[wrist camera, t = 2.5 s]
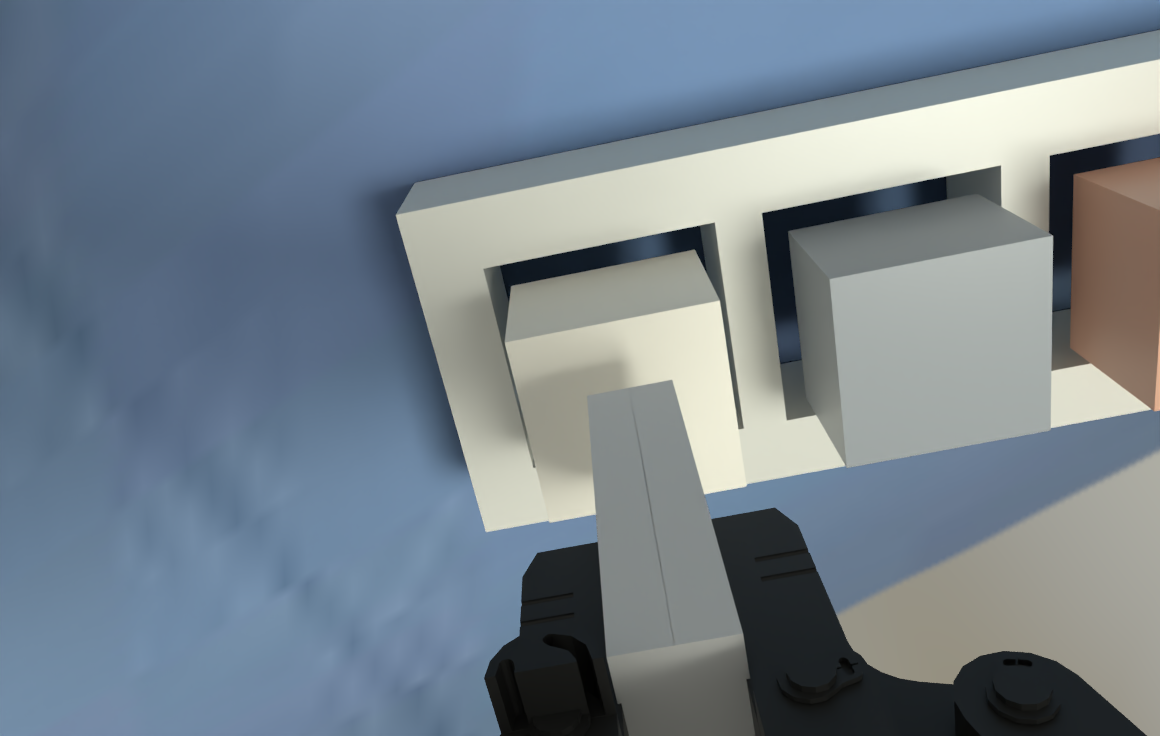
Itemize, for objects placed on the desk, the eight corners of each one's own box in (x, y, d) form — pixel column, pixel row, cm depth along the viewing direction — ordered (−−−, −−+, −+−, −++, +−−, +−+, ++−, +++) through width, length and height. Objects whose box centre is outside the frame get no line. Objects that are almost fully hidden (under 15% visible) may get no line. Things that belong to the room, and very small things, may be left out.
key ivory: (549, 445, 22) (549, 522, 19) (511, 286, 20) (504, 342, 17) (719, 414, 21) (746, 486, 18) (694, 249, 20) (720, 300, 17)
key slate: (806, 397, 21) (847, 468, 18) (787, 231, 20) (829, 279, 17) (981, 364, 21) (1050, 430, 18) (977, 193, 19) (1053, 235, 17)
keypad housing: (492, 469, 25) (486, 532, 22) (415, 182, 22) (396, 214, 19) (1241, 328, 24) (1330, 376, 21) (1274, 6, 21) (1383, 13, 18)
